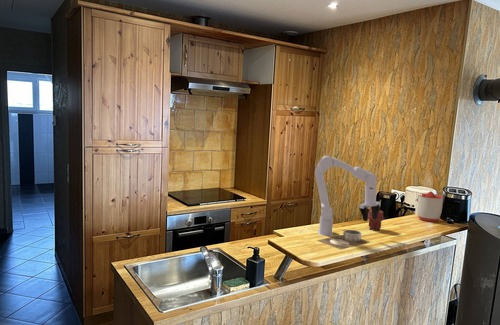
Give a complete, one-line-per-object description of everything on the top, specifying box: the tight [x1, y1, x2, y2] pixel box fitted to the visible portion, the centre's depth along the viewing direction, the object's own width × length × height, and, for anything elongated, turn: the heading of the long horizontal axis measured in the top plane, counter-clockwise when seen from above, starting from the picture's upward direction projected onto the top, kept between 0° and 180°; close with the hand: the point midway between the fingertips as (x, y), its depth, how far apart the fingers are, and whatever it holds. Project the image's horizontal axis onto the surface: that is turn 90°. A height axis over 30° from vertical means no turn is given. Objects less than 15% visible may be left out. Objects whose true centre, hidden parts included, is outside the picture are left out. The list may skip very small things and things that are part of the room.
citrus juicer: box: [415, 191, 444, 223], centre depth 252 cm, size 16×17×20 cm
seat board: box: [316, 234, 370, 250], centre depth 194 cm, size 24×16×1 cm, turn 126°
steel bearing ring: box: [342, 229, 362, 242], centre depth 198 cm, size 9×9×4 cm
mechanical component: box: [368, 209, 385, 231], centre depth 222 cm, size 12×10×10 cm
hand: (369, 219), depth 202 cm, fingers open, 7 cm apart
